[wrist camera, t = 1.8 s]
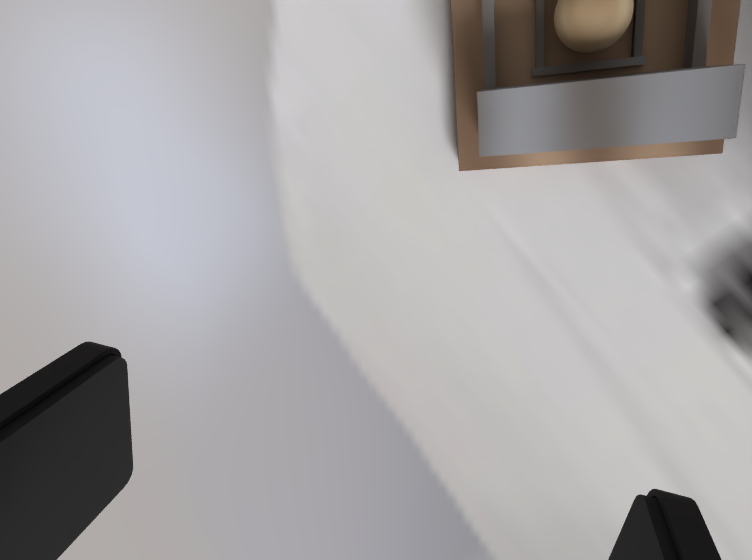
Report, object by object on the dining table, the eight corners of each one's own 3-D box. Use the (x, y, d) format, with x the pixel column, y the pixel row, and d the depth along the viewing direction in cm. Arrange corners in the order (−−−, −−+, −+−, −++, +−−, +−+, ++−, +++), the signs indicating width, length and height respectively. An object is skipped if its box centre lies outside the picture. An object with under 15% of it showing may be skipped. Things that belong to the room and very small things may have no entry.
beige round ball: (627, -28, 26) (644, -43, 23) (623, 50, 27) (639, 46, 24) (551, -17, 27) (557, -30, 24) (550, 58, 28) (556, 56, 25)
